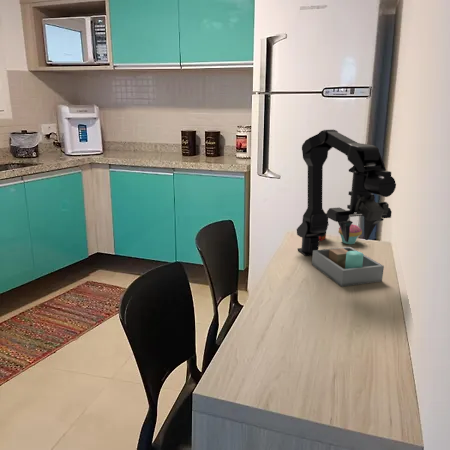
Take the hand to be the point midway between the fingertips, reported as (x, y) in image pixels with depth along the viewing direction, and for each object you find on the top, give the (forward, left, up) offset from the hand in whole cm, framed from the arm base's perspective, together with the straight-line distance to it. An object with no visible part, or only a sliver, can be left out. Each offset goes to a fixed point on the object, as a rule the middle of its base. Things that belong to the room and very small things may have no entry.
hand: (356, 240), depth 133 cm
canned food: (-38, +8, -12) cm, 41 cm away
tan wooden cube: (-8, 0, -11) cm, 14 cm away
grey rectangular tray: (-4, 0, -12) cm, 13 cm away
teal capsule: (0, 0, -11) cm, 11 cm away
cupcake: (-30, +18, -12) cm, 37 cm away
